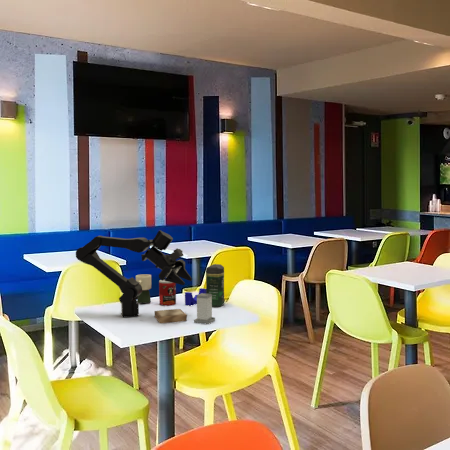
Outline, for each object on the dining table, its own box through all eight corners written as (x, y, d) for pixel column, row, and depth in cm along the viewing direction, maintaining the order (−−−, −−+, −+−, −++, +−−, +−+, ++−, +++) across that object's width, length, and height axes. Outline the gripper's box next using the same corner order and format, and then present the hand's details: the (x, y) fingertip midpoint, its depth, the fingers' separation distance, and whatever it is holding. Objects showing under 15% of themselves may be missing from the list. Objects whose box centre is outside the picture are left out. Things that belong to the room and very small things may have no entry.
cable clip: (199, 300, 258) (198, 287, 258) (206, 301, 256) (206, 288, 255) (182, 305, 249) (182, 292, 248) (190, 306, 246) (189, 293, 246)
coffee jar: (221, 307, 242) (220, 266, 240) (204, 307, 244) (203, 266, 242) (226, 303, 251) (225, 263, 250) (209, 302, 253) (209, 262, 252)
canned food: (163, 306, 245) (162, 282, 244) (156, 303, 252) (156, 279, 251) (178, 304, 249) (178, 281, 248) (172, 301, 256) (171, 278, 255)
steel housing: (193, 322, 216) (193, 295, 215) (200, 319, 222) (200, 292, 221) (208, 324, 213) (208, 296, 213) (215, 320, 220) (214, 293, 219)
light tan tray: (159, 323, 216) (159, 316, 215) (154, 317, 226) (154, 310, 226) (186, 320, 219) (186, 314, 219) (180, 314, 229) (180, 308, 229)
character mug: (141, 300, 259) (140, 273, 258) (155, 300, 258) (154, 273, 257) (132, 305, 249) (131, 277, 248) (146, 305, 247) (146, 277, 246)
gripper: (161, 246, 214) (191, 270, 212) (177, 241, 232) (205, 263, 230) (146, 268, 216) (176, 292, 214) (163, 261, 234) (191, 283, 232)
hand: (188, 282), depth 222 cm, fingers open, 9 cm apart
